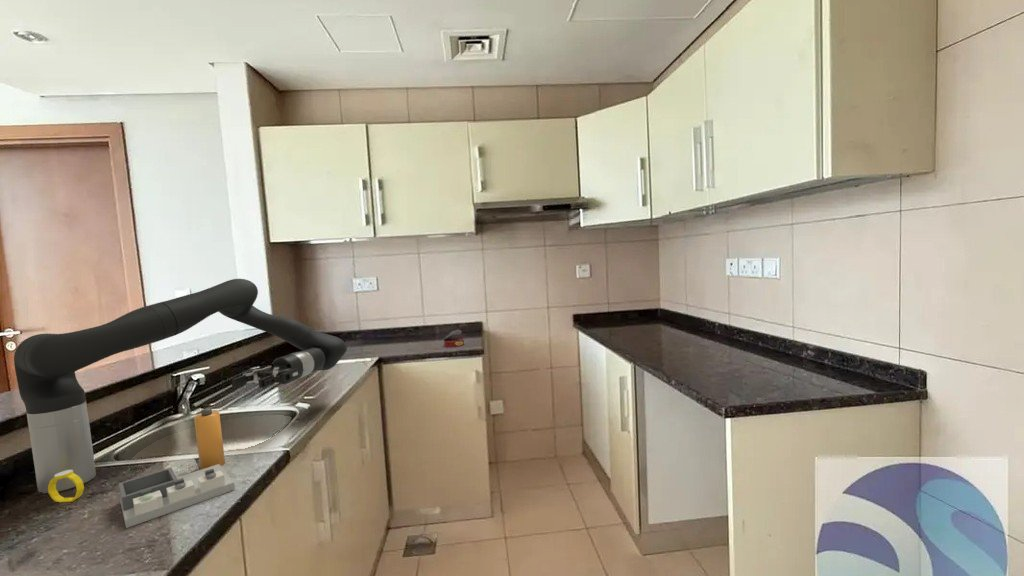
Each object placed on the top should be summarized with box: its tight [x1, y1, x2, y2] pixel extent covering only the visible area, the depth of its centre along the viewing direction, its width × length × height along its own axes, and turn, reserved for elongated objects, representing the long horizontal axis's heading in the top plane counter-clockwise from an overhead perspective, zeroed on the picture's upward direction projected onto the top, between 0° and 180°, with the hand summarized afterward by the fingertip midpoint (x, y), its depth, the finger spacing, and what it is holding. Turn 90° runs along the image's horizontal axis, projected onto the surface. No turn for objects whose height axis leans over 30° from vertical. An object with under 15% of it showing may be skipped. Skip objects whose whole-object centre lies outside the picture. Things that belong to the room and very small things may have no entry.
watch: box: [47, 470, 85, 503], centre depth 92 cm, size 6×3×6 cm, turn 91°
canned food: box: [443, 329, 465, 348], centre depth 229 cm, size 11×10×10 cm
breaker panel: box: [118, 464, 236, 529], centre depth 91 cm, size 13×17×4 cm
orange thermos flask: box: [193, 407, 226, 470], centre depth 104 cm, size 5×5×13 cm
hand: (246, 384), depth 114 cm, fingers open, 8 cm apart
